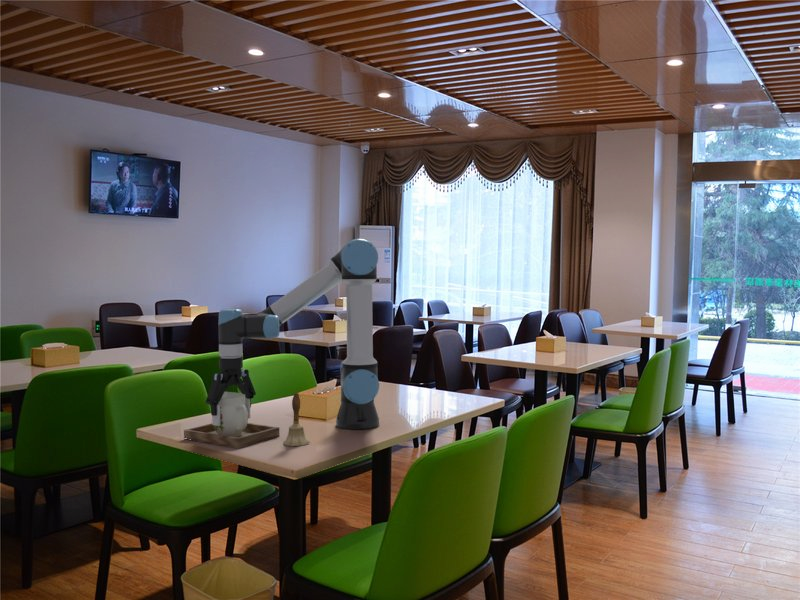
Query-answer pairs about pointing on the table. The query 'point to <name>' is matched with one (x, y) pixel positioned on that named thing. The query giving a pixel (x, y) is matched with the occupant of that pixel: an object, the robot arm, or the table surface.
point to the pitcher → (232, 414)
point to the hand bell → (296, 427)
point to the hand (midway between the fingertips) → (231, 421)
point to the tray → (247, 437)
